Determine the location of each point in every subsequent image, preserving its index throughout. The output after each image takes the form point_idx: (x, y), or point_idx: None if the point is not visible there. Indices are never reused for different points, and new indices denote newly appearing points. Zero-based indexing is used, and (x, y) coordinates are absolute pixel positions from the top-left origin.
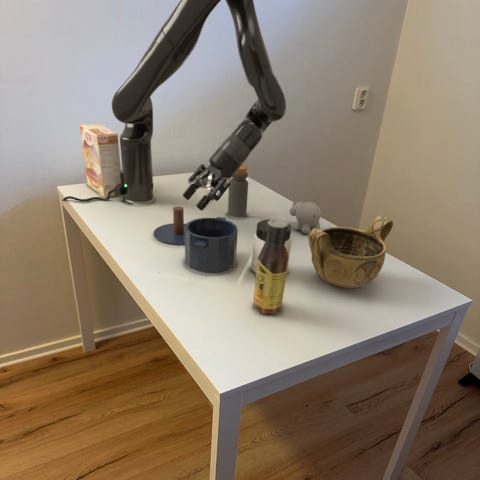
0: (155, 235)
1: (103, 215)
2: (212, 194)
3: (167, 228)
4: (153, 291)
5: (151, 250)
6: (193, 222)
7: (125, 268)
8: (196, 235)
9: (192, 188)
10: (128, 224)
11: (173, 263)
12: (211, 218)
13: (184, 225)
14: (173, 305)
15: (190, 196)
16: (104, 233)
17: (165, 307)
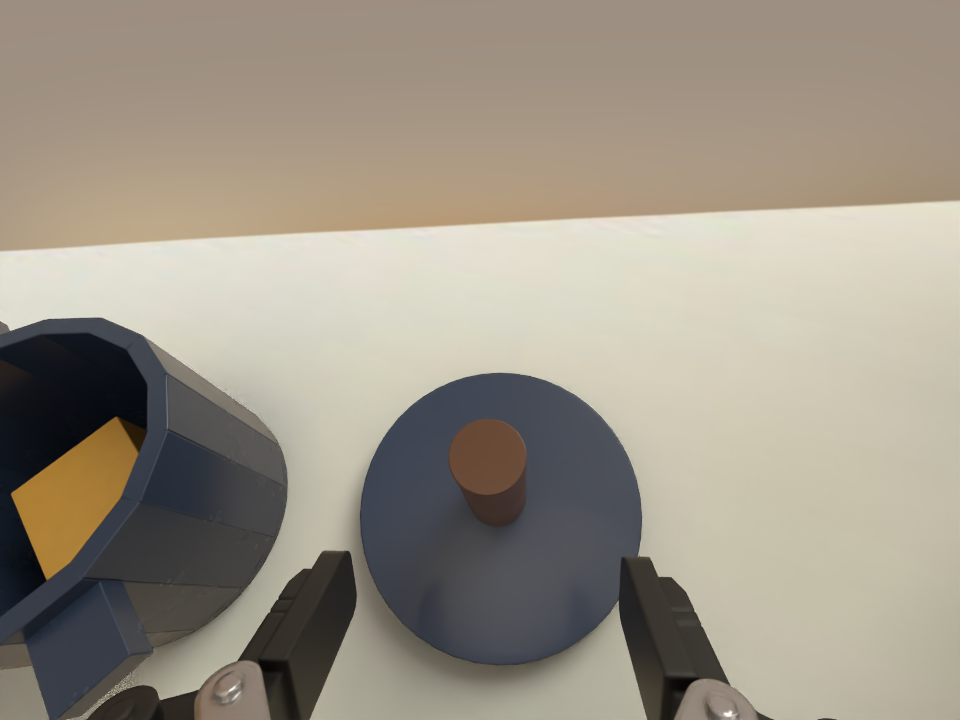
0: (511, 377)
1: (863, 270)
2: (106, 708)
3: (575, 462)
4: (171, 262)
5: (419, 338)
6: (151, 405)
7: (342, 234)
8: (1, 339)
9: (655, 687)
10: (726, 334)
11: (275, 372)
12: (87, 549)
13: (587, 580)
14: (73, 283)
15: (631, 645)
16: (644, 237)
17: (84, 264)
